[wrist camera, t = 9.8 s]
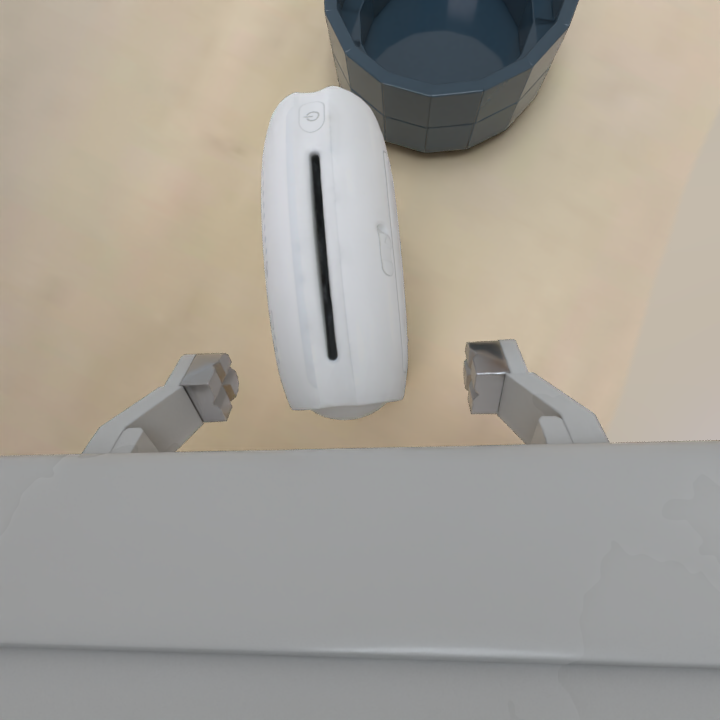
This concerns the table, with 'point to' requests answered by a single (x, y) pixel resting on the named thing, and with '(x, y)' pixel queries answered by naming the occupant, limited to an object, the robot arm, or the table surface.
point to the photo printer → (333, 256)
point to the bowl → (445, 63)
